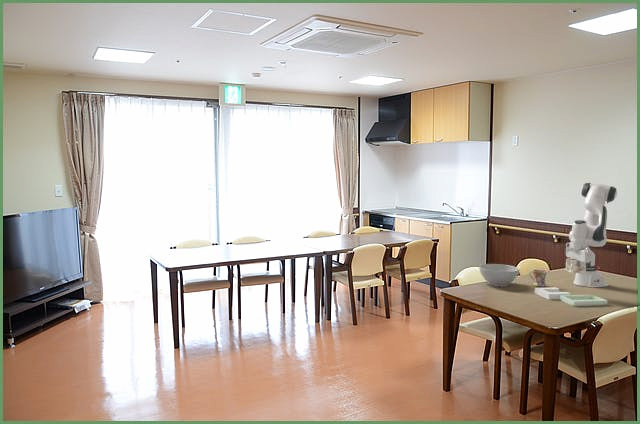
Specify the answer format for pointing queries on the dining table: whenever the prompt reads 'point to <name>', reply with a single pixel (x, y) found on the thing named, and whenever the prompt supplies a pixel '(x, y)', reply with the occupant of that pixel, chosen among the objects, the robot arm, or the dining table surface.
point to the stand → (550, 293)
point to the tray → (583, 300)
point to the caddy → (576, 266)
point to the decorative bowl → (498, 274)
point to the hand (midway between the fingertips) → (577, 266)
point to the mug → (539, 278)
